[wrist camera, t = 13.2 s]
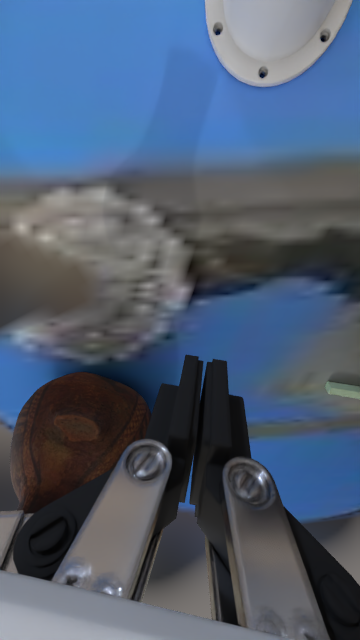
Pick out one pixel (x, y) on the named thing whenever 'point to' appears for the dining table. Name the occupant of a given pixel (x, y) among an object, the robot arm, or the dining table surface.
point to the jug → (72, 436)
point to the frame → (343, 390)
